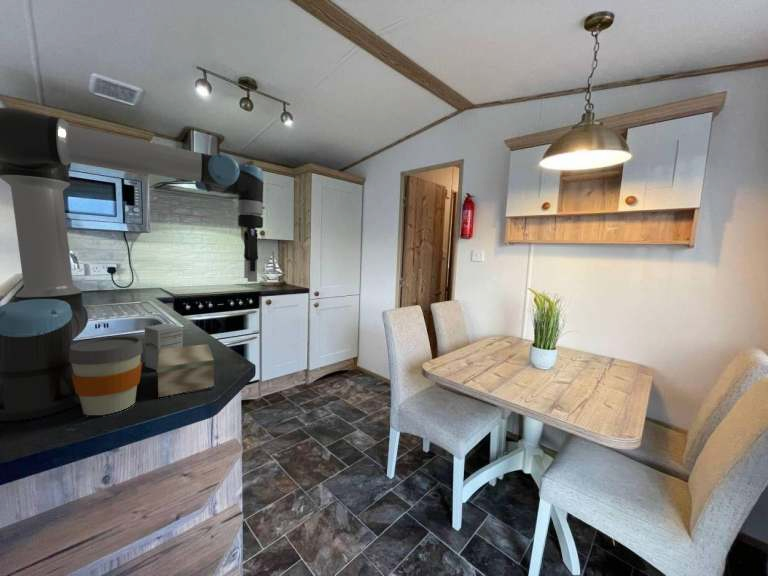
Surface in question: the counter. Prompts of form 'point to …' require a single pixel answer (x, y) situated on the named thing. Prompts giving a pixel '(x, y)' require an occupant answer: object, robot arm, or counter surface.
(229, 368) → the counter surface
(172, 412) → the counter surface
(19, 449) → the counter surface
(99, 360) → the reusable coffee cup
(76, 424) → the counter surface
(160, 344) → the supplement box
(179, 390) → the maple box
